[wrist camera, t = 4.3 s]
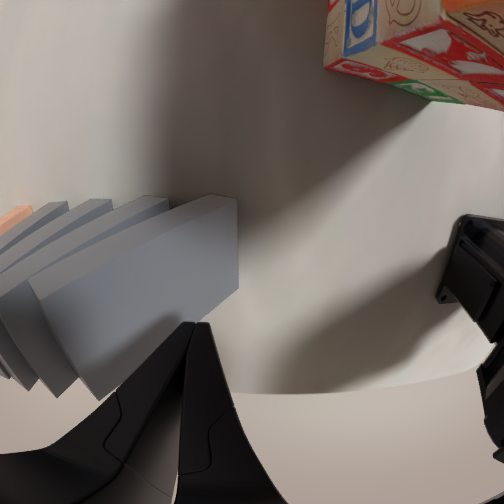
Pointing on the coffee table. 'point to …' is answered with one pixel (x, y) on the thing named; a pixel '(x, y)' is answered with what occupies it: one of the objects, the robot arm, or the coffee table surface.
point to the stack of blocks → (422, 47)
